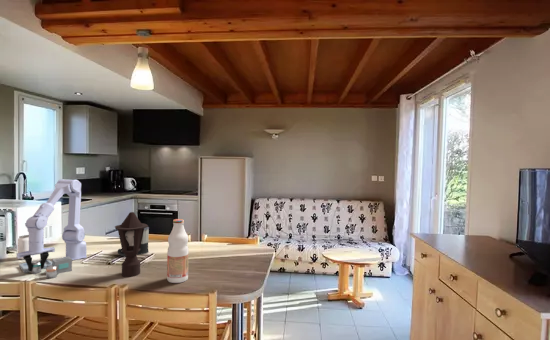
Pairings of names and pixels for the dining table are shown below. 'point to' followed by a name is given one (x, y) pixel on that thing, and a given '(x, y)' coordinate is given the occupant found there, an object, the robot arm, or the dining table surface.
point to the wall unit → (63, 264)
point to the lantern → (131, 243)
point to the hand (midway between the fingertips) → (36, 269)
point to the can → (23, 245)
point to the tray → (25, 266)
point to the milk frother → (143, 244)
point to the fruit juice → (177, 253)
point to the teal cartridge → (36, 267)
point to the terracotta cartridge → (51, 271)
